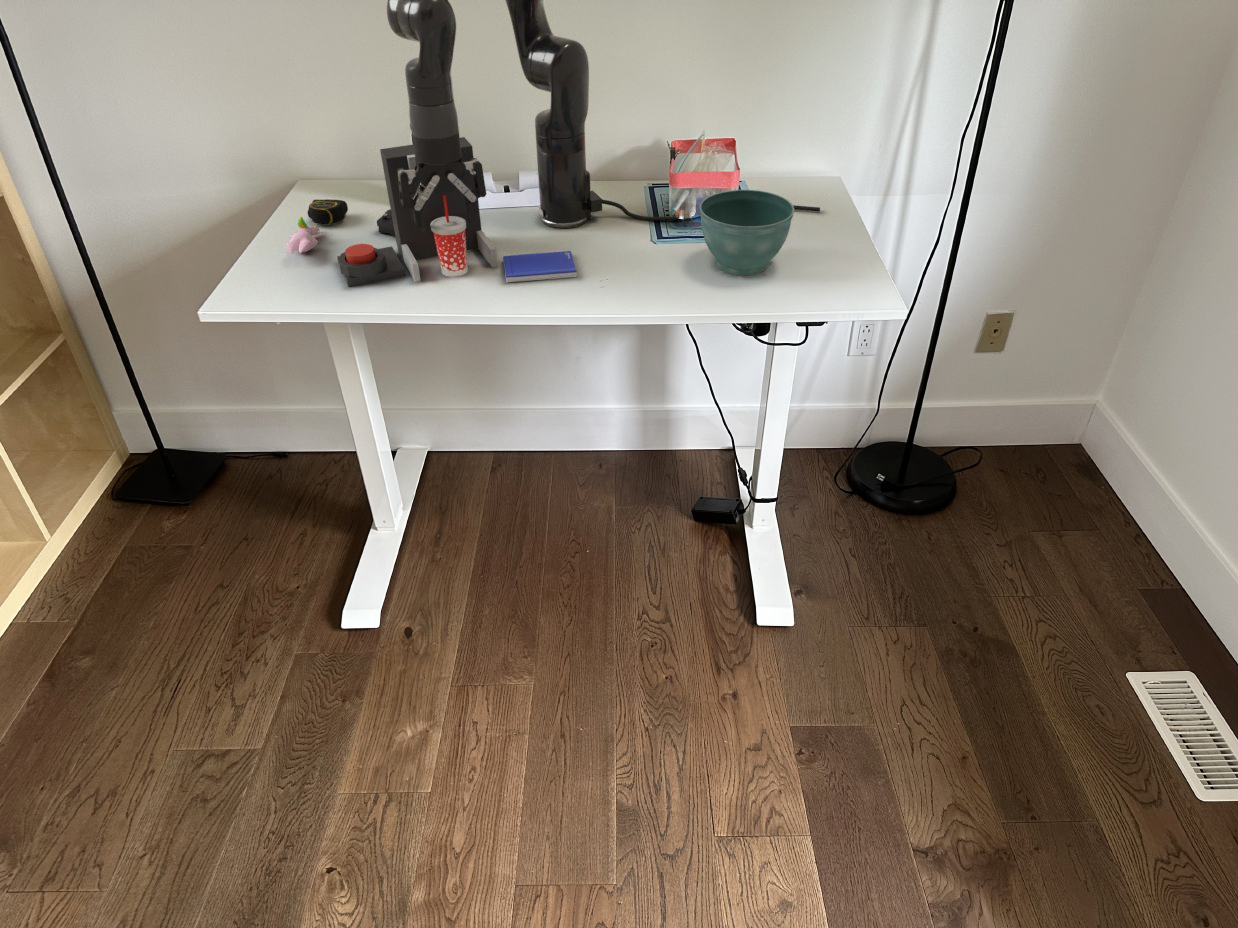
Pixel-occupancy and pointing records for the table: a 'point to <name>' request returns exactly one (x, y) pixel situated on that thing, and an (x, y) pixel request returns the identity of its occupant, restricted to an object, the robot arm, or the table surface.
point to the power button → (360, 254)
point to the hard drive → (539, 266)
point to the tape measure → (327, 211)
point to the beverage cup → (450, 243)
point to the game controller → (386, 223)
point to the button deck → (372, 268)
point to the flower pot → (745, 228)
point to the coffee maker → (429, 210)
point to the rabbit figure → (303, 238)
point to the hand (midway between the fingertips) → (447, 225)
